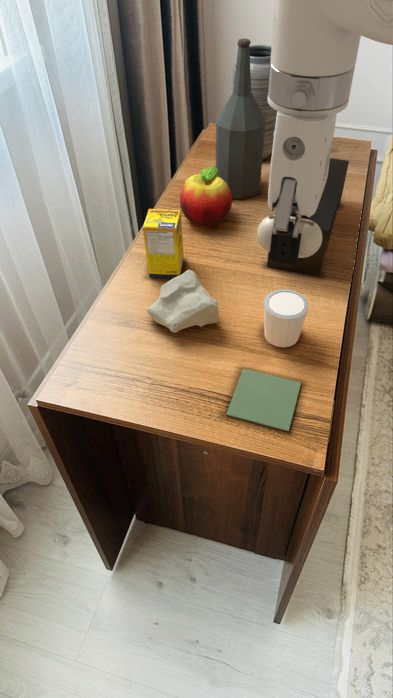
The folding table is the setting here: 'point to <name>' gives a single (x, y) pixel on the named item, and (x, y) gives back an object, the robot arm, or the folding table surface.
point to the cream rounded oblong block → (308, 228)
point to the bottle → (240, 133)
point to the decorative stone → (184, 304)
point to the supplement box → (163, 242)
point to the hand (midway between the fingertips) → (288, 247)
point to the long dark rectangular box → (321, 220)
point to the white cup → (284, 317)
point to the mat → (264, 399)
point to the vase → (262, 91)
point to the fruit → (206, 198)
